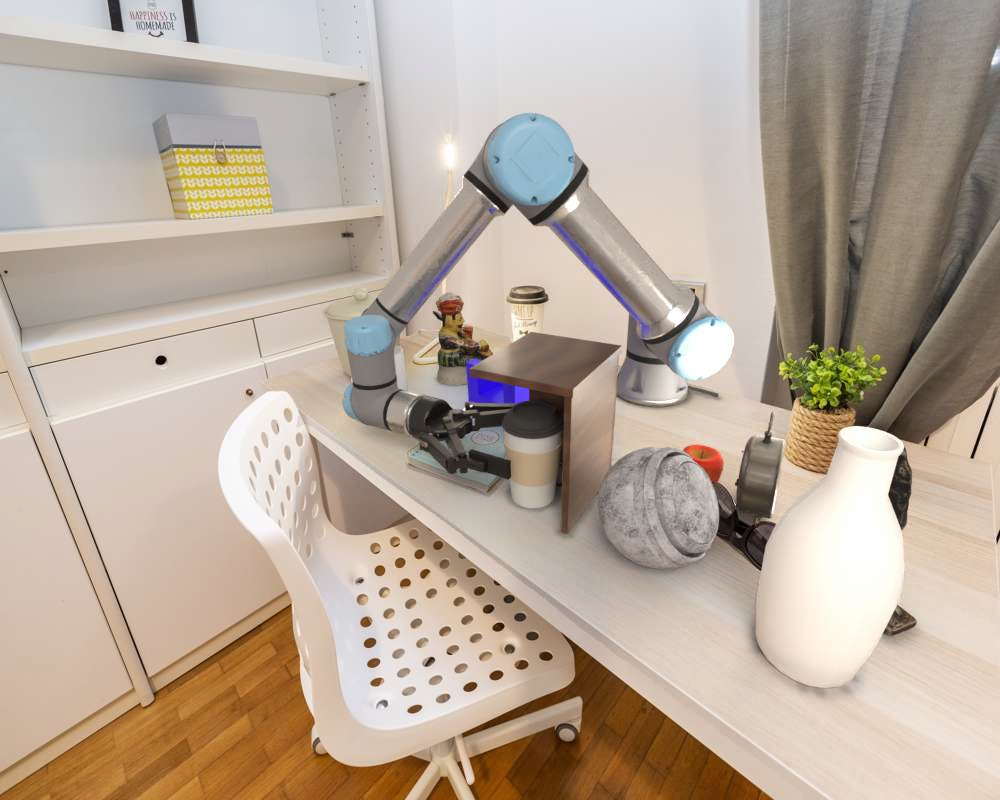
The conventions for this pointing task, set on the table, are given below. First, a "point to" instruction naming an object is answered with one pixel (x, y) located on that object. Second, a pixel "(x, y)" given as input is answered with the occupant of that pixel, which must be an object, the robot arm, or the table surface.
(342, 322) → the canister
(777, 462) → the alarm clock
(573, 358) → the cubby
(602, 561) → the table surface
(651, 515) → the decorative orb
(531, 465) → the coffee cup
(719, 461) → the apple
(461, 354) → the figurine
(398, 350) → the mug
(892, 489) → the statue
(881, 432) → the bottle
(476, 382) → the blue hollow box
